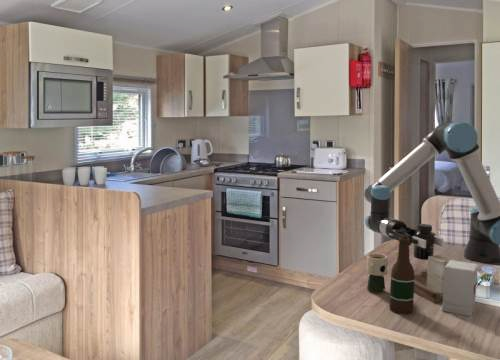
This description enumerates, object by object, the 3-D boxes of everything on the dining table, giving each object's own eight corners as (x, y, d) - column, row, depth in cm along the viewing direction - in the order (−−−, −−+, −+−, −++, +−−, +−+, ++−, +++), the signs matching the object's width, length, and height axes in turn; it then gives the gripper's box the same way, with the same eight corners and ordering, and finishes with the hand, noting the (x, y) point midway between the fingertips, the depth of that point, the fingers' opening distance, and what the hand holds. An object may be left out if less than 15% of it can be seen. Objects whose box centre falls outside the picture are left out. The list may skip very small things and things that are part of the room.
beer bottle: (385, 305, 163) (388, 235, 160) (407, 304, 164) (411, 234, 160) (393, 314, 155) (397, 241, 152) (417, 314, 156) (421, 240, 153)
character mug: (379, 297, 170) (380, 261, 168) (360, 293, 174) (361, 257, 172) (391, 289, 178) (393, 254, 176) (372, 284, 183) (374, 250, 181)
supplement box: (471, 317, 154) (474, 271, 152) (441, 311, 159) (444, 266, 157) (475, 307, 162) (478, 263, 160) (446, 302, 166) (449, 259, 164)
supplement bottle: (434, 260, 174) (436, 227, 173) (414, 259, 176) (416, 226, 174) (431, 255, 181) (433, 223, 179) (412, 254, 182) (413, 222, 181)
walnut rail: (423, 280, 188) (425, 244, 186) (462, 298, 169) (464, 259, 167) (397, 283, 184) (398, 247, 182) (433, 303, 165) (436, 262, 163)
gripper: (413, 236, 198) (455, 251, 177) (372, 240, 191) (410, 256, 170) (414, 217, 197) (456, 230, 176) (372, 221, 190) (411, 235, 169)
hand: (433, 243), depth 173 cm, fingers closed on supplement bottle, 7 cm apart
